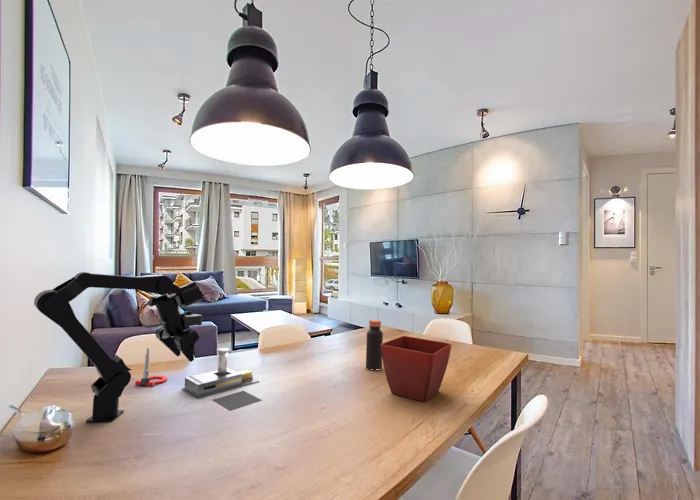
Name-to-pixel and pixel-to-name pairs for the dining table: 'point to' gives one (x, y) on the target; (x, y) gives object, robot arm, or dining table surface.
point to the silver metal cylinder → (222, 361)
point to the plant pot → (415, 366)
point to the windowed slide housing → (217, 382)
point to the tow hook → (146, 380)
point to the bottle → (374, 345)
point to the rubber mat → (236, 400)
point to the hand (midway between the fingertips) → (185, 358)
